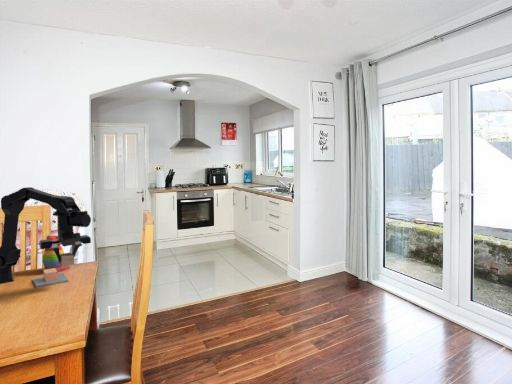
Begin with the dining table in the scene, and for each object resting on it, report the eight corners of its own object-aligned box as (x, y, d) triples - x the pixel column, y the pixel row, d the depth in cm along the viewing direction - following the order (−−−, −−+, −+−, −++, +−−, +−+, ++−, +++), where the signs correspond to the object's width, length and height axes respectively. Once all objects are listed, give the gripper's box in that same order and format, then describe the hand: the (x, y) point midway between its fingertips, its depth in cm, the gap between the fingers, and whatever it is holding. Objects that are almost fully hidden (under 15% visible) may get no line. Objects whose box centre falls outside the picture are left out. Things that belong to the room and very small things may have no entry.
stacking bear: (71, 267, 163) (70, 233, 162) (57, 274, 153) (56, 238, 152) (52, 266, 164) (51, 233, 163) (37, 273, 154) (35, 237, 153)
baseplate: (33, 280, 145) (33, 278, 145) (63, 274, 152) (63, 273, 152) (36, 287, 136) (36, 286, 136) (68, 281, 143) (68, 279, 143)
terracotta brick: (43, 278, 145) (43, 269, 144) (55, 276, 148) (54, 268, 147) (45, 282, 140) (45, 273, 140) (57, 279, 143) (57, 271, 143)
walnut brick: (58, 263, 139) (58, 254, 138) (70, 261, 142) (69, 252, 142) (62, 266, 134) (62, 257, 134) (74, 264, 138) (73, 255, 137)
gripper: (42, 231, 125) (43, 270, 126) (93, 226, 137) (94, 261, 138) (38, 227, 133) (39, 263, 134) (87, 222, 145) (87, 255, 147)
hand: (66, 261), depth 138 cm, fingers closed on walnut brick, 5 cm apart
